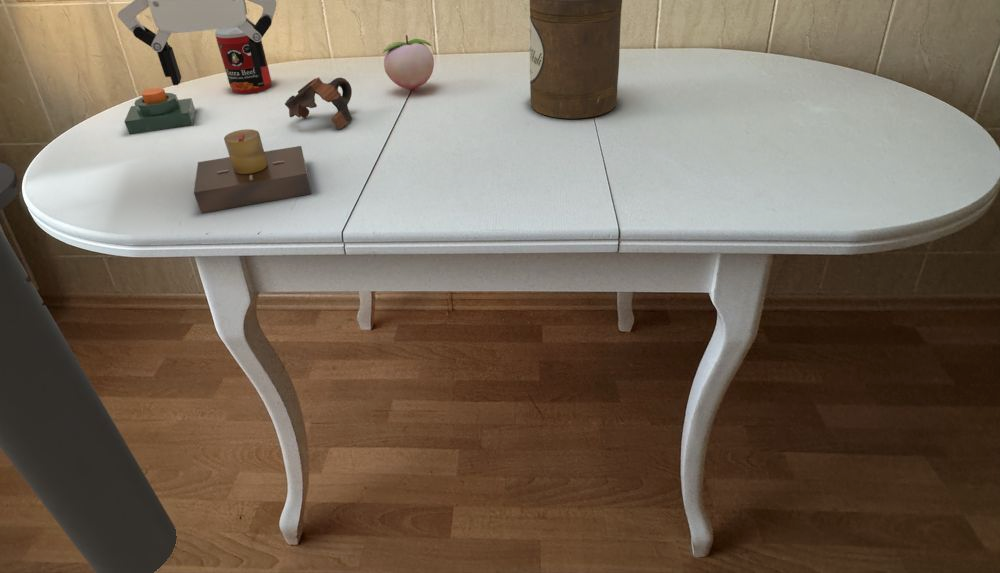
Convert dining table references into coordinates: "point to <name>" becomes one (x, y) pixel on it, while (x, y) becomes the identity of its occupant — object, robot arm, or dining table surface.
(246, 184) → the plate
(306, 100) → the brown angular looped piece
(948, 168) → the dining table surface
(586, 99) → the wooden container
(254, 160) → the lock knob
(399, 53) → the decorative fruit
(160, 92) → the button
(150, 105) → the button box
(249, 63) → the canned food
